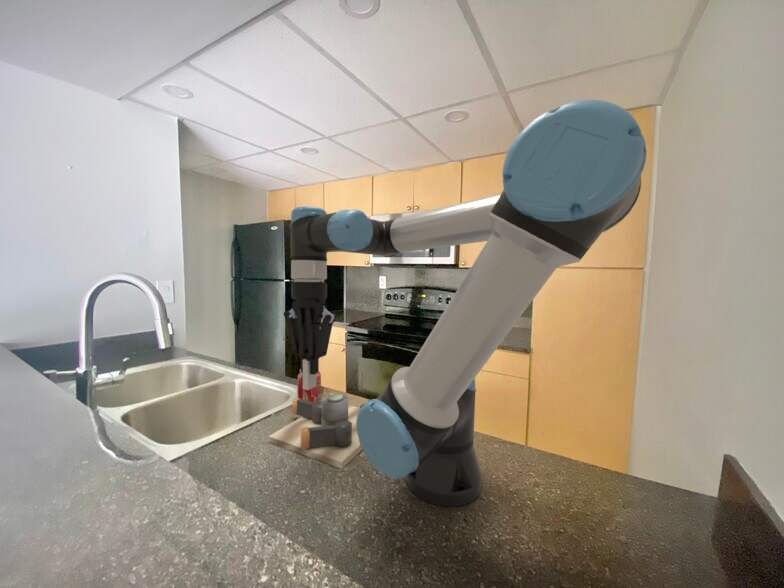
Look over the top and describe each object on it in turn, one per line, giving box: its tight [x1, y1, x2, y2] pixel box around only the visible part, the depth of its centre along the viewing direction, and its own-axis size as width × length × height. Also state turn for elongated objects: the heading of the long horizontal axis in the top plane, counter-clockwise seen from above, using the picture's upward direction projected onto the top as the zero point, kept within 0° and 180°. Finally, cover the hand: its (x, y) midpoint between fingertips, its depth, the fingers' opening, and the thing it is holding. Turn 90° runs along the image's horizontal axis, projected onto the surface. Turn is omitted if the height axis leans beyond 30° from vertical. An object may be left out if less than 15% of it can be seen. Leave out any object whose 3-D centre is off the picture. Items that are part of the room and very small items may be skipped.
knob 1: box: [292, 397, 321, 424], centre depth 82 cm, size 12×4×4 cm, turn 64°
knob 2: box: [301, 420, 352, 449], centre depth 69 cm, size 12×4×4 cm, turn 104°
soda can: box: [296, 368, 322, 403], centre depth 92 cm, size 7×7×12 cm
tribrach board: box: [268, 392, 363, 470], centre depth 78 cm, size 22×24×10 cm
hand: (309, 387), depth 65 cm, fingers closed
